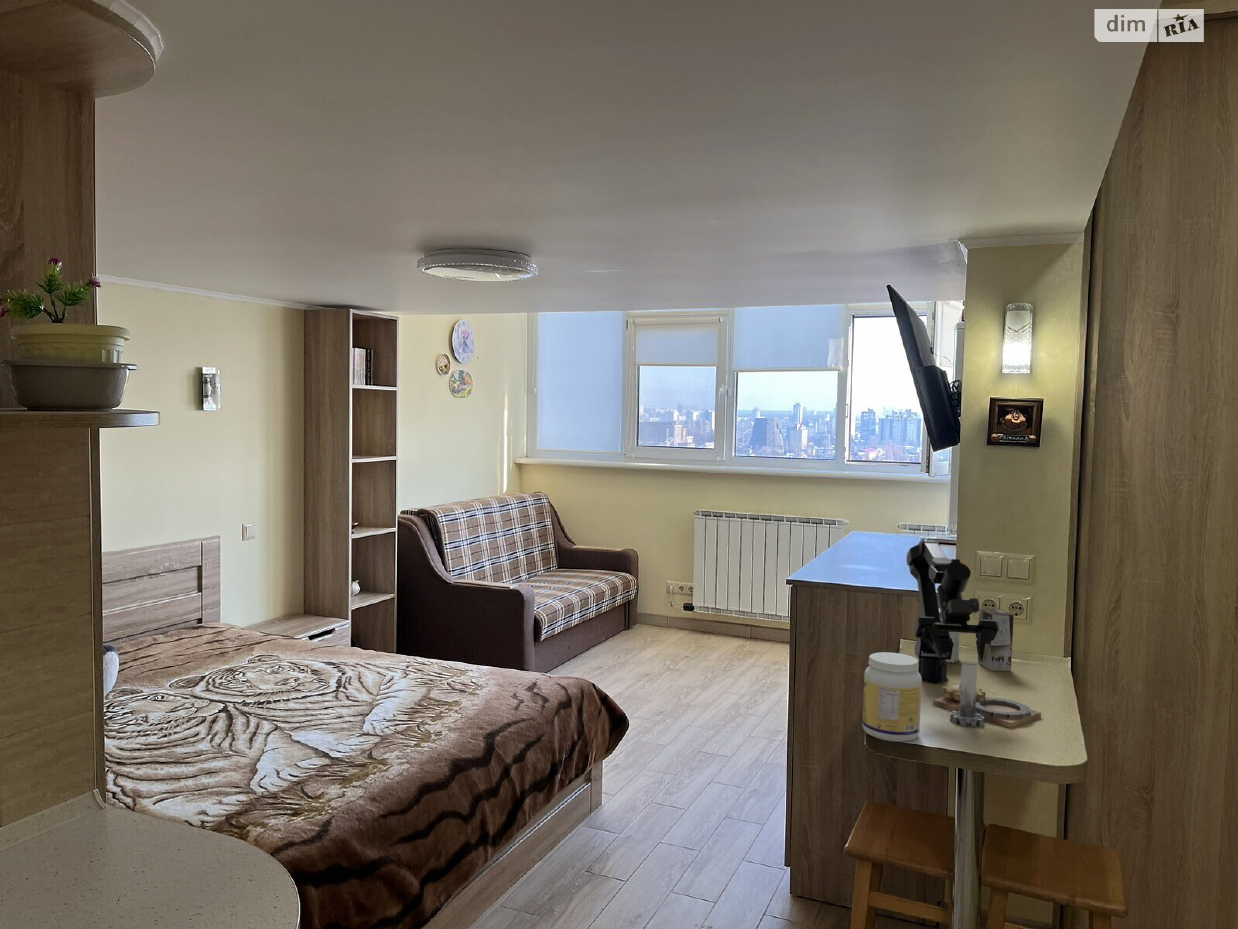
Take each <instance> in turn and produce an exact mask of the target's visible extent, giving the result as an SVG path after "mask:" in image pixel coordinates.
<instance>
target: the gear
mask: <svg viewBox="0 0 1238 929" xmlns="http://www.w3.org/2000/svg"><path fill="white" fill-rule="evenodd" d="M960 665H961V667H960V684H961V685H960V684H959V685H960V709H959V710H958V712H957V711H952V710H951V712H950V713H949V715H950V716H949V721H951V722H952V723H953V724H955V725H960V726H961V727H970V726H971V727H970V728H976V727H979V726H981V727H983V726H984V725H985V720H984V717H983V716H982V715H980V714H978V713H977V714H975V706H976V687H977V678H978V663H974V662H967V661H966V662H965V661H964V662H961V664H960ZM983 724H984V725H983Z"/></svg>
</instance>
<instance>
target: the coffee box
mask: <svg viewBox="0 0 1238 929" xmlns="http://www.w3.org/2000/svg"><path fill="white" fill-rule="evenodd" d="M978 613H979V614H978V615H979V618H978V619H979V620H980V619H982V620H995V621H996V622H997V623H998V627H999V630H998V632H997V634H996V637H995V639H994V640H993V641H990V642H989V643H988V644H985V649H984V654H983V659H982V661H980V660H979V657H978V656H977V663H978V662H979V663H980V664H979V663H978V664H979V665H981V664H982V665H981V666H982V667H984V668H985V669H987V670H989V671H998V672H999V671H1001V672H1002V671H1003V672H1011V671H1012V659H1013V658H1012V656H1013V638H1014V637H1013V635H1014V617H1015V615H1014V614H1012V613H1010V612H1008V611H1006V610H1003V609H1001V608H979V612H978ZM979 620H978V621H979Z"/></svg>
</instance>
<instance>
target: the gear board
mask: <svg viewBox="0 0 1238 929" xmlns="http://www.w3.org/2000/svg"><path fill="white" fill-rule="evenodd" d="M960 685H961V683H952V684H948V683H947V684H944V685H943V686H942V688H941V693H942V695H944V696H941V697H938V698H934V699H932V705H933V706H936V705H937V706H936V707H939V708H943V709H947V710H948V711H951V712H952V711H957V712H958V710H959V709H960ZM977 713H978V714H980V715H982V716H983V717H984V722H985V721H986V722H989V723H992V722H993V723H992V724H996V725H998V726H999V725H1000V726H1002V727H1005V728H1009V729H1012V728H1014V727H1017V726H1022V725H1023V724H1027V723H1028V722H1032V721H1035V720H1038V719H1040V717H1041V718H1042V712H1041V711H1038V710H1033V709H1031V707H1029V706H1028V705H1025V704H1023V703H1021V702H1018V701H1015V700H1011V699H1006V698H998V697H990V696H989V697H987V696H986V691H985V690H983V689H982V687H981V688H980V687H978V686H976V706H975V714H977ZM1026 722H1027V723H1026Z"/></svg>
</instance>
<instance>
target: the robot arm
mask: <svg viewBox="0 0 1238 929" xmlns="http://www.w3.org/2000/svg"><path fill="white" fill-rule="evenodd" d="M906 565H907V566H908V568H909V573H910V575H912V577H913V578H914V579H915V581H916V582H917V588H918V595H919V602H920V610H921V616H918V617H917V618H916V623H915V625H914V635H915V637H916V638H917V639H916V641H915V644H914V655H915V656H916V658H918V666H919V669H918V670H917V672H918V673H919V674H920V675H921V678H922V682H926V683H932V684H935V685H936V684H941V683H944V682H948V681H949V678H948V677H947V675H948V664H947V662H946V659H948V660H951V656H952V649H953V646H954V643H953V642H952V638H951V637H950V634H949V632H955V633H959V634H975V638H976V640H975V644H976V649H977V650H976V651H977V658H978V657H979V660H980V661H982V659H983V654H984V649H985V644H988V643H989V642H990V641H993V640H994V639H995V637H996V634H997V632H998V630H999V627H998V623H997V622H996V621H995V620H982V619H980V620H978V622H977V623H978V624H968V622H970V620H971V616H970V615H972V614H973V613H974V614H976V613H979V612H980V602H979V598H975V597H974V598H972V597H971V598H969V599H964V598H963V593H964V592H965V590H966V588H967V585H968V583H969V580H970V577H971V574H972V573H971V569H970V568H969V567H968V566H967V564H964V563H963V562H961V559H958V558H957V559H956V558H955V559H954V558H948V556H947V555H946V554H945V552H944V551H943V550H942V547H941V543H940V542H939V541H937V540H926V539H924V540H920V541H919V543H917V544H916V545H914V546H912V547H910V548H909V550H908V552H907V554H906ZM936 584H937V585H938V584H939V585H938V586H937V588H936ZM939 608H940V614H939ZM940 617H941V618H942V622H941V620H940Z"/></svg>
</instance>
